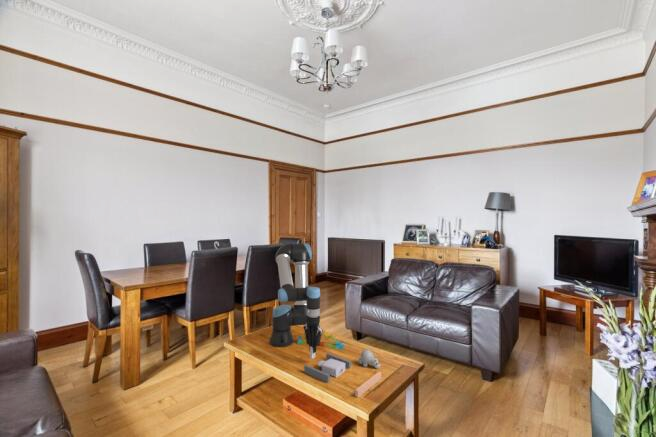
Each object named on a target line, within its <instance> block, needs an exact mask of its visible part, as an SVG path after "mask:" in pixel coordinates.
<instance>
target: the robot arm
mask: <svg viewBox="0 0 656 437" xmlns="http://www.w3.org/2000/svg"><path fill="white" fill-rule="evenodd" d="M312 259H313V253H312V247H311V245H310V244H309V243H307V242H306V243H304V242H303V243H302V242H297V243H294V242H292V243H291V242H290V243H289V242H288V243H285V244H282V245H281V246H280V247H279V248H278V249H277V251H276V253H275V259H274V260H275V262H276V264H277V268H278V278H279V285H280V288H279V289H278V290H277V300H278V302H280V303H290V302H294V303H293V307H291V305H290V304H280V305H277V306H275V307H274V308H273V310H272V331H271V334H270V338H269V345H271V346H272V347H278V348H284V347H288V346H291V345H293V343H294V336H293V333H292V330H291V327H293V326H294V327H295V326H303V330H304V332H305V334H304V336H305V340H306V343H307V344H309V345H308V346H309V358H310V359H311V360H313V359H315V358H316V353H317V347H320V346H319V344H320V342H321V339H322V338H321V337H322V335H321V334H322V333H324V330H323V329H321V326H320V323H321V322H320V321H321V316H320V315H321V290H320V287H317V286H309V277H308V276H309V274H308V273H309V271H308V270H309V269H308V268H309V267H308V266H309V264H310V261H311V260H312ZM291 261H292V264H293V266H294V270H295V271H294V275H295V278H294V280H295V282H293V275H292V270H291V264H290V262H291ZM294 284H295V287H294Z"/></svg>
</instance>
